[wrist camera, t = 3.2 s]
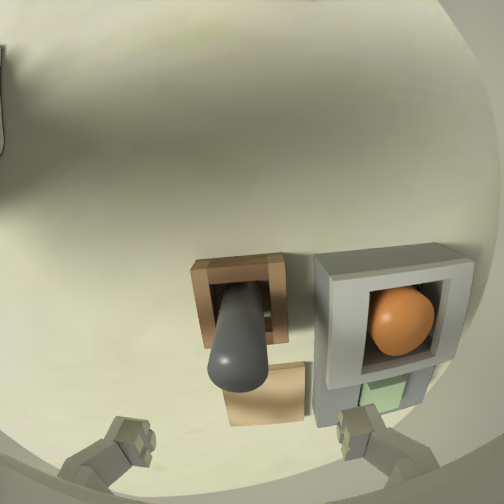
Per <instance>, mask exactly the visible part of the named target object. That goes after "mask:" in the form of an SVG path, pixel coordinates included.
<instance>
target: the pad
mask: <svg viewBox="0 0 504 504" xmlns="http://www.w3.org/2000/svg"><path fill="white" fill-rule="evenodd" d="M268 369H269V371H268V377H267V379H266V381H265V382H264V383H263V384H262V385H261V386H260V387H259V388H257V389H255V390H253V391H250V392H245V393H234V392H229V391H226V390H223V389H222V391H223V395H224V400H225V405H226V409H227V414H228V418H229V422H230V426H251V425H266V424H278V423H288V422H297V421H304V402H305V364H304V362H297V363H288V364H278V365H268Z"/></svg>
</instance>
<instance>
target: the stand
mask: <svg viewBox="0 0 504 504" xmlns="http://www.w3.org/2000/svg"><path fill="white" fill-rule="evenodd" d="M190 272H191V278H192V284H193V290H194V296H195V301H196V307H197V312H198V318H199V323H200V328H201V333H202V338H203V343H204V348H205V349H208V348H212V343H213V339H214V334H215V329H216V325H217V320H218V316H219V311H218V305H217V298H216V291H215V284H219V283H232V282H244V281H256V280H267V279H268V283H269V296H270V310H271V317H264V322H265V334H266V345H270V344H280V343H289V335H288V312H287V291H286V273H285V261H284V258H283V256H282V253H270V254H259V255H248V256H236V257H225V258H213V259H202V260H196V261H195V263H194V265H193V266H192V268H191V270H190Z"/></svg>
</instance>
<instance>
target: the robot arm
mask: <svg viewBox="0 0 504 504" xmlns="http://www.w3.org/2000/svg"><path fill="white" fill-rule="evenodd" d="M0 64H1V47H0ZM3 145H4V136H3V127H2V116H1V98H0V154H1V152H2V149H3ZM338 418H339V422H338V423H337V436H338V441H339V443H341V444H342V448H341V451H342V454H343V458H344V460H345V461H347V460H352V459H357V458H362V457H364V459H366V460H367V461H368V462H370V463H371V464H372V465H374V466H375V467H376V468H377V469H379V470H380V471H381V472H383V473H384V474H385V475H387V476H388V477H389V479H388V481H387V483H386V485H385V486H384V488H383V489H381V490H377V491H374V492H370V493H367V494H363V495H359V496H355V497H351V498H346V499H342V500H337V501H332V502H327V503H321V504H504V433H503V434H501V435H499V436H497V437H496V438H494V439H493V440H491V441H489V442H488V443H486V444H484V445H482V446H481V447H479V448H477V449H475V450H474V451H472V452H470V453H468V454H466V455H464V456H462V457H461V458H459V459H457V460H455V461H452V462H451V463H448V464H446V465H444V466H442V467H440V466H439V464H438V462H437V460H436V458H435V456H434V454H433V453H432V451H431V449H430V448H429V447H427V446H425V445H423V444H421V443H419V442H417V441H415V440H413V439H411V438H409V437H407V436H405V435H403V434H401V433H399V432H397V431H395V430H394V429H392V428H390V427H389V428H386V426H385V424H384V422H383V420H382V418H381V416H380V414H379V412H378V410H377V408H376V406H375V404H374V403H371V404H367V405H363V406H358V407H353V408H349V409H344V410H339V413H338ZM155 447H156V436H155V433H154V431H152V430H151V429H150V423H149V421H148V420H144V419H136V418H129V417H122V416H116V417H115V418H114V420H113V422H112V424H111V426H110V428H109V430H108V432H107V434H106V436H105V438H104V439H100V440H98V441H97V442H95V443H93V444H92V445H90V446H88V447H87V448H85V449H83V450H81V451H80V452H78V453H76V454H74V455H73V456H71V457H69V458H67V459H66V460H65V462H64V464H63V466H62V468H61V469H60V471H59V473H58V475H57V476H54V475H52V474H49V473H47V472H45V471H43V470H40V469H38V468H36V467H34V466H32V465H30V464H28V463H25V462H23V461H21V460H19V459H18V458H16V457H14V456H12V455H10V454H8V453H0V504H153V503H148V502H141V501H137V500H132V499H128V498H124V497H119V496H115V495H114V493H113V492H112V491H111V490H110V489H109V488H108V487H109V486H110V485H111V484H112V483H114V482H115V481H116V480H117V479H118V478H119V477H121V476H122V475H123V474H124V473H125V472H126V471H127V470H129V469H130V468H131V467H132V465H133V466H140V467H148V468H149V466H150V463H151V460H152V455H151V454H150V453H151V452H152V451H154V450H155Z"/></svg>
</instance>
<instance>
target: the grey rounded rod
mask: <svg viewBox="0 0 504 504" xmlns="http://www.w3.org/2000/svg"><path fill="white" fill-rule="evenodd" d="M207 370H208V375H209V377H210V379H211V380H212V382H213V383H214V384H215V385H217V386H218V387H219V388H221V389H223V390H226V391H229V392H234V393H245V392H250V391H253V390H255V389H257V388H259V387H260V386H261V385H262V384H263V383H264V382H265V381H266V379H267V377H268V371H269V369H268V357H267V346H266V334H265V322H264V311H263V299H262V291H261V288H260V287H259V285H258V284H257V283H256V282H255V281H244V282H232V283H228V284H227V285H226V287H225V289H224V293H223V297H222V302H221V306H220V311H219V316H218V320H217V325H216V329H215V334H214V339H213V343H212V348H211V353H210V358H209V362H208V369H207Z"/></svg>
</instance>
